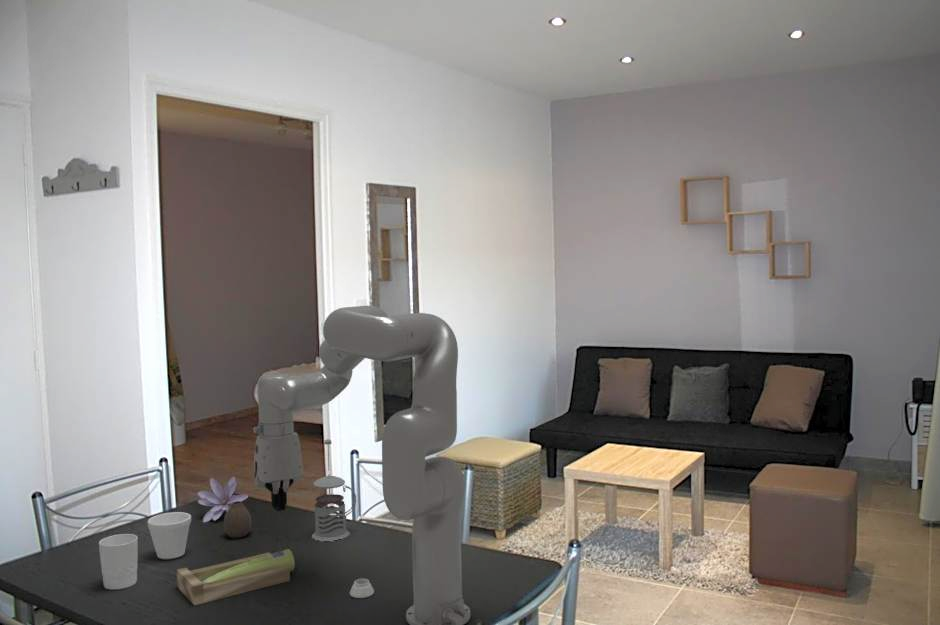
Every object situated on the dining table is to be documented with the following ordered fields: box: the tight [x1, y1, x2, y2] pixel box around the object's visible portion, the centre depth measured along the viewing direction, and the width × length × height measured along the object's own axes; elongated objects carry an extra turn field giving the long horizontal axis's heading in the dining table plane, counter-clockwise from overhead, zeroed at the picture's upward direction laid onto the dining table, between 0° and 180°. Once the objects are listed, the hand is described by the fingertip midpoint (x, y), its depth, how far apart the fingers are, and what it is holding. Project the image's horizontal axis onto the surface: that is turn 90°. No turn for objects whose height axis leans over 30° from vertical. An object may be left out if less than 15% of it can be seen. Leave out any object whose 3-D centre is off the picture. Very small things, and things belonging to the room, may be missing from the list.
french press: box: [311, 438, 357, 542], centre depth 211 cm, size 10×12×25 cm
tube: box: [202, 548, 296, 583], centre depth 181 cm, size 6×5×20 cm
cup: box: [147, 511, 192, 561], centre depth 199 cm, size 10×10×9 cm
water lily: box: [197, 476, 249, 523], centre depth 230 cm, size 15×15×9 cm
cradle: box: [176, 552, 291, 606], centre depth 180 cm, size 12×21×4 cm, turn 125°
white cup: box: [98, 533, 139, 590], centre depth 182 cm, size 8×8×10 cm
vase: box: [223, 501, 252, 539], centre depth 212 cm, size 7×7×9 cm
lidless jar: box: [349, 578, 375, 599], centre depth 174 cm, size 5×3×5 cm
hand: (279, 509), depth 186 cm, fingers closed
